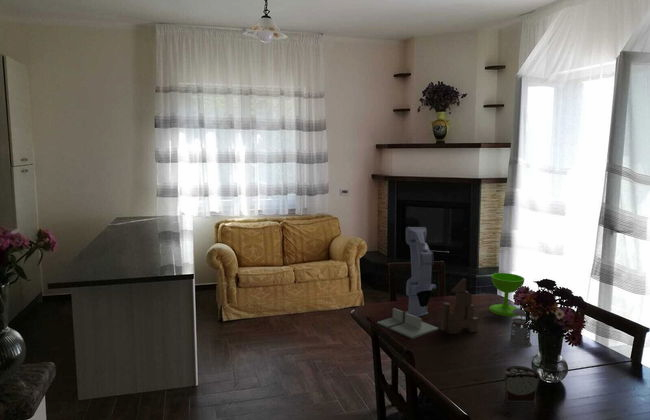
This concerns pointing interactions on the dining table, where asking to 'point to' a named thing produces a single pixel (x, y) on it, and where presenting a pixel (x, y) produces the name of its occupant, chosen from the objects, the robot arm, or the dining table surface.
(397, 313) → the base
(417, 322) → the fence panel
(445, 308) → the wooden toy
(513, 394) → the food container
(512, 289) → the wineglass
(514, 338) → the grey box grater
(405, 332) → the board
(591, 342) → the dining table surface
